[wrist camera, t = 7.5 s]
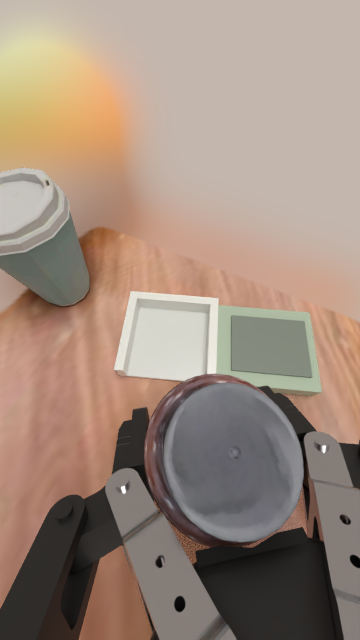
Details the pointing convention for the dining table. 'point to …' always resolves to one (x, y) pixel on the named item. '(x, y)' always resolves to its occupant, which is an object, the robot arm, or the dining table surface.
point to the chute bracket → (168, 337)
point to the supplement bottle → (223, 461)
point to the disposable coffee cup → (40, 237)
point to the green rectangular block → (268, 349)
